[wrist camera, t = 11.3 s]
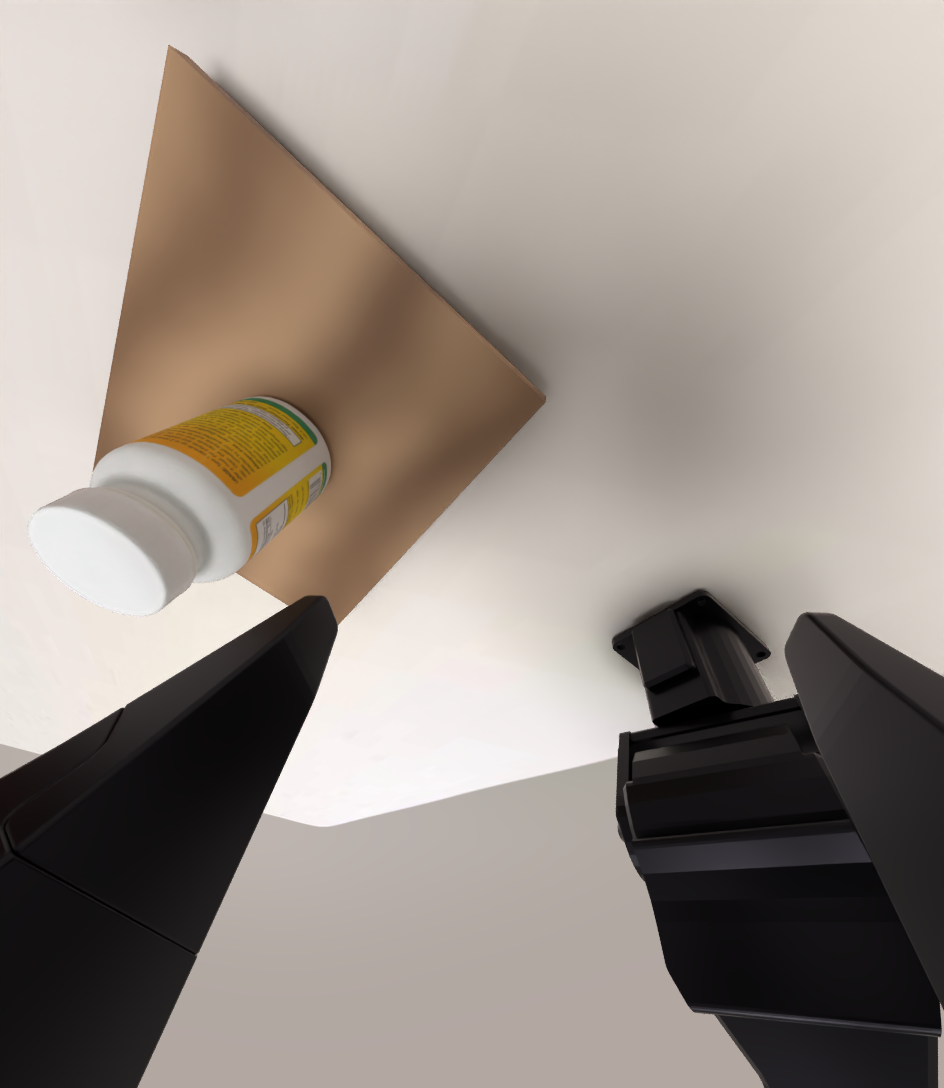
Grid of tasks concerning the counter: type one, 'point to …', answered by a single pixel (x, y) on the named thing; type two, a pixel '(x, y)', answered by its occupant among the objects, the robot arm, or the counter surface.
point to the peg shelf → (299, 342)
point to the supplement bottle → (183, 505)
